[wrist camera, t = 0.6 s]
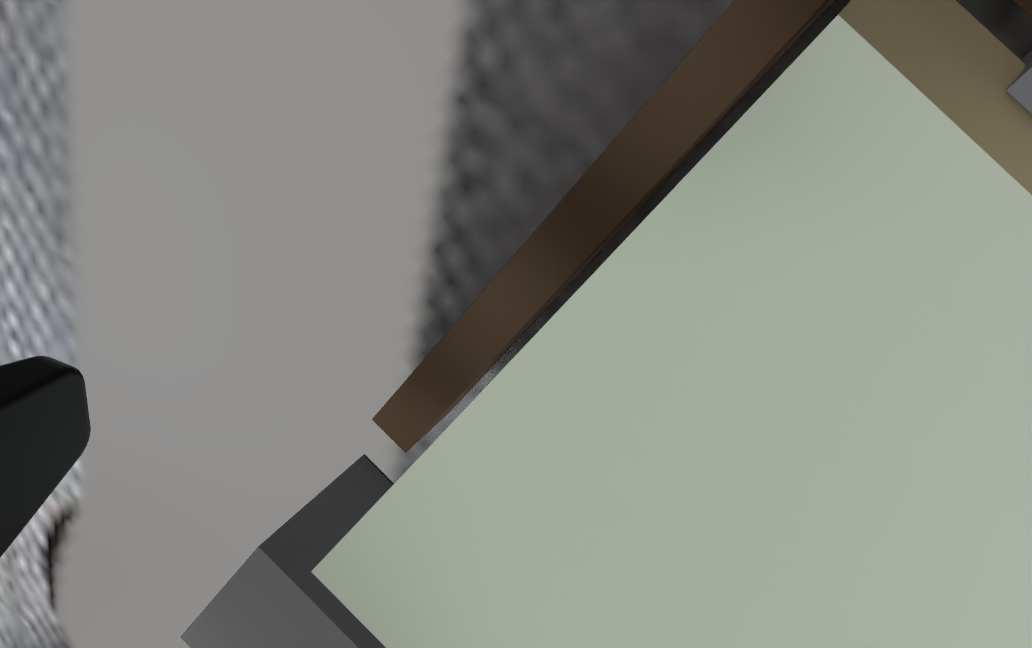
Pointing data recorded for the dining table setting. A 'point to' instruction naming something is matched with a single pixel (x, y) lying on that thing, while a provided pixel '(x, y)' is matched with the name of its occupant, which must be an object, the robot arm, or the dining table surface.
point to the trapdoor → (762, 390)
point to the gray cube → (295, 578)
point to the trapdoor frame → (602, 204)
